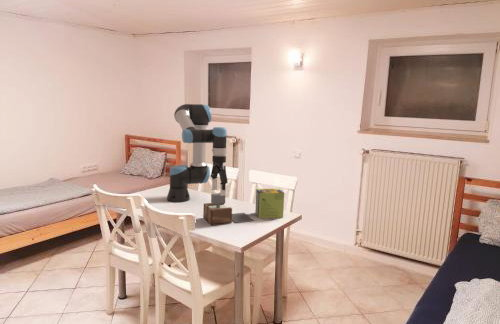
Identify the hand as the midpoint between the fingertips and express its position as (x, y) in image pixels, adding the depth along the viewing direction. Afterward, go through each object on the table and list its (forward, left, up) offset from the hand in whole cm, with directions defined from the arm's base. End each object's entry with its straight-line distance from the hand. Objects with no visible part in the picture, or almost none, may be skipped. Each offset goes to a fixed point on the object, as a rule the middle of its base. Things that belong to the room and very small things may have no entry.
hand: (218, 192), depth 199 cm
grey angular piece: (0, 0, -10) cm, 10 cm away
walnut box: (0, 0, -16) cm, 16 cm away
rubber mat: (0, +14, -16) cm, 21 cm away
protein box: (+1, +33, -17) cm, 37 cm away
